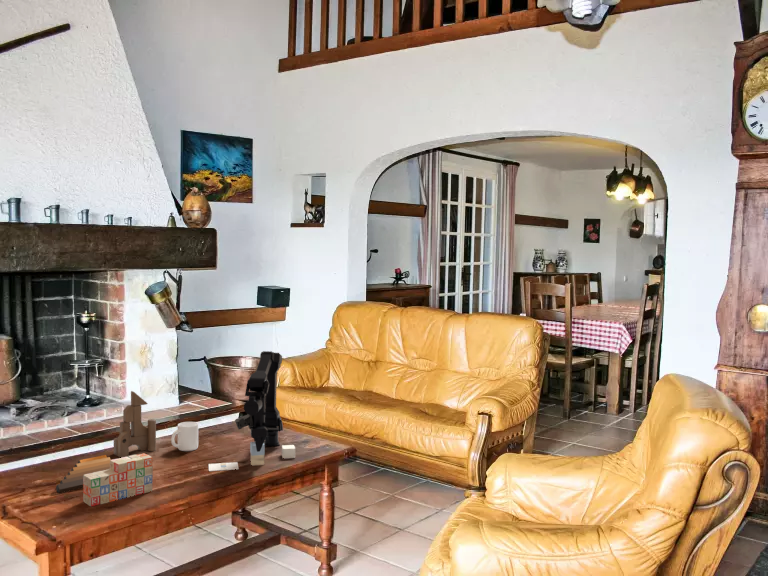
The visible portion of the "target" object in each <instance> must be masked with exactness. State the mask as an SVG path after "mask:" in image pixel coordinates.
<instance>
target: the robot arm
mask: <svg viewBox="0 0 768 576" xmlns="http://www.w3.org/2000/svg"><path fill="white" fill-rule="evenodd" d="M259 357H260V358H259V361H258V364H257V367H256V370H255V372H253V373H251V374H250V376H249V379H247V381H246V388H245V393H244V396H245V397H248V400H247V401H246V402H245V403H244V404H243V410H244V412H245V415H243V416H240V417H238V418H236V419H235V420H234V421H235V424H236V428H237V429H238V430H242V429H243V428H246V427H248V429H249V430H250V437H251V438H252V439H253V442H255V443H256V449H257V452H260V450H261V448H262V445H263V443H264V445H265V447H276V446H280V445H281V443H280V441H279V432H282V431H283V430H284V425H283V421H282V417H281V415H280V414H281V413H280V411H279V410H278V408H277V384H278V383H277V377H278V375H277V374H278V371H279V370H280V369H281V365H282V362H283V355H282V354H280V352H274V351H271V350H270V351H268V350H267V351H266V350H263V351H261V353H260V355H259Z"/></svg>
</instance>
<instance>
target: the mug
mask: <svg viewBox="0 0 768 576" xmlns="http://www.w3.org/2000/svg"><path fill="white" fill-rule="evenodd" d="M176 436H177V443H176V441H175V439H176V438H175V437H176ZM170 442H171V445H172V446H173V447H175V448H177V449H178V450H179V451H181V452H192V451H195V450H197V449H198V447H199V423H198V422H197V421H183V422H180V423H178V424H177V429H176V430H174V432H173V433H172V435H171V439H170Z"/></svg>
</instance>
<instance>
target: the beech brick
mask: <svg viewBox="0 0 768 576" xmlns="http://www.w3.org/2000/svg"><path fill="white" fill-rule="evenodd" d="M250 461H251V462H250ZM250 461H249V462H250V466H251V465H252V466H264V465H265V455H255V456H251V455H250Z"/></svg>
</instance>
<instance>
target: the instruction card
mask: <svg viewBox="0 0 768 576" xmlns="http://www.w3.org/2000/svg"><path fill="white" fill-rule="evenodd" d="M235 469H236V470H239V469H240V468H239V463H238V461H236V462H233V461H232V462H221V463H219V462H218V463H208V472H216V471H219V472H220V471H232V470H233V471H234V470H235Z"/></svg>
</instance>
